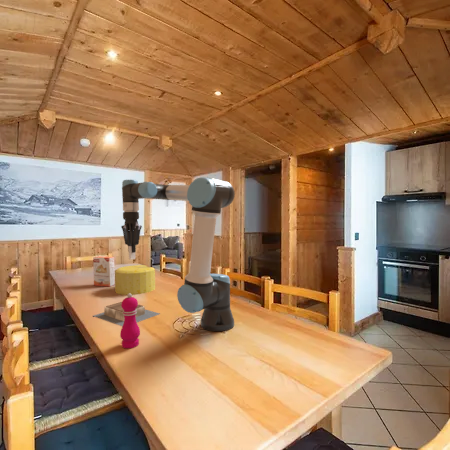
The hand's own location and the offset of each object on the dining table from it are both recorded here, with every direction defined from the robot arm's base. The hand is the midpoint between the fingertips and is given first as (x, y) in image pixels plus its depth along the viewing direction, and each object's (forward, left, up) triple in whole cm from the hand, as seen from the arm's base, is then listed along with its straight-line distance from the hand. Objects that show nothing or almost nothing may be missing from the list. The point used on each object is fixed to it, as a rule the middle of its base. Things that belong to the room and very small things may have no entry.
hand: (132, 259), depth 143 cm
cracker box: (+72, -29, -29) cm, 83 cm away
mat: (+3, +2, -28) cm, 29 cm away
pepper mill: (-27, +21, -29) cm, 44 cm away
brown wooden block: (-4, +2, -26) cm, 26 cm away
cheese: (+43, -34, -29) cm, 62 cm away
